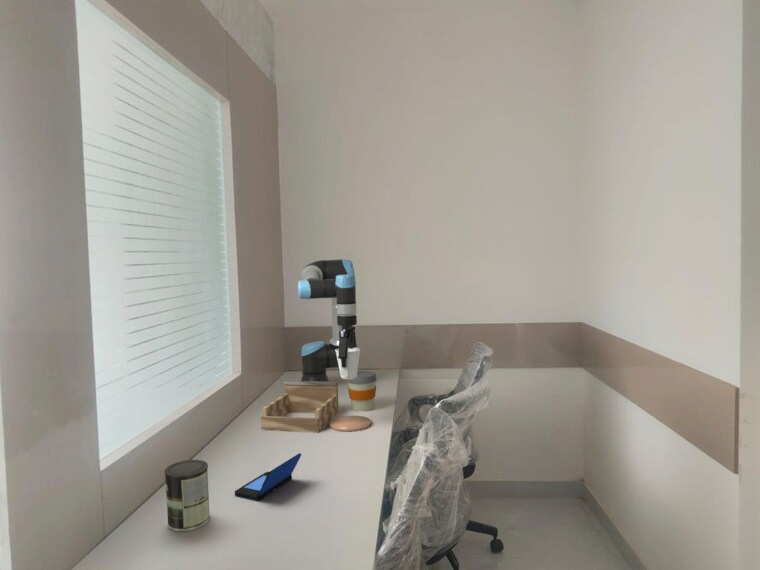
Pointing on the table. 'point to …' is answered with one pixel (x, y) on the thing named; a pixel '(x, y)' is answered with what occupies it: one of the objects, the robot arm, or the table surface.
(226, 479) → the table surface
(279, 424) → the frame
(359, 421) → the saucer
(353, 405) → the reusable coffee cup
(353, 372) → the cup
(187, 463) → the coffee can
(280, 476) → the handheld game console
